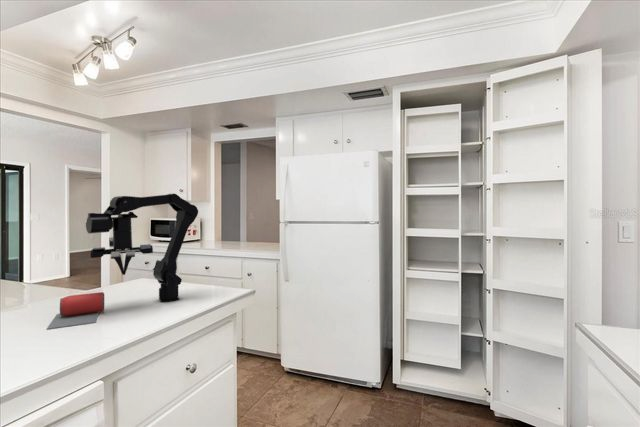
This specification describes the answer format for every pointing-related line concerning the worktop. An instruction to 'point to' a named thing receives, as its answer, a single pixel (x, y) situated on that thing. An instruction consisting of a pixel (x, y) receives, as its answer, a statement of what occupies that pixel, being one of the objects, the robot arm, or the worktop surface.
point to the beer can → (82, 304)
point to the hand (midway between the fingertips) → (123, 274)
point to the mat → (72, 320)
